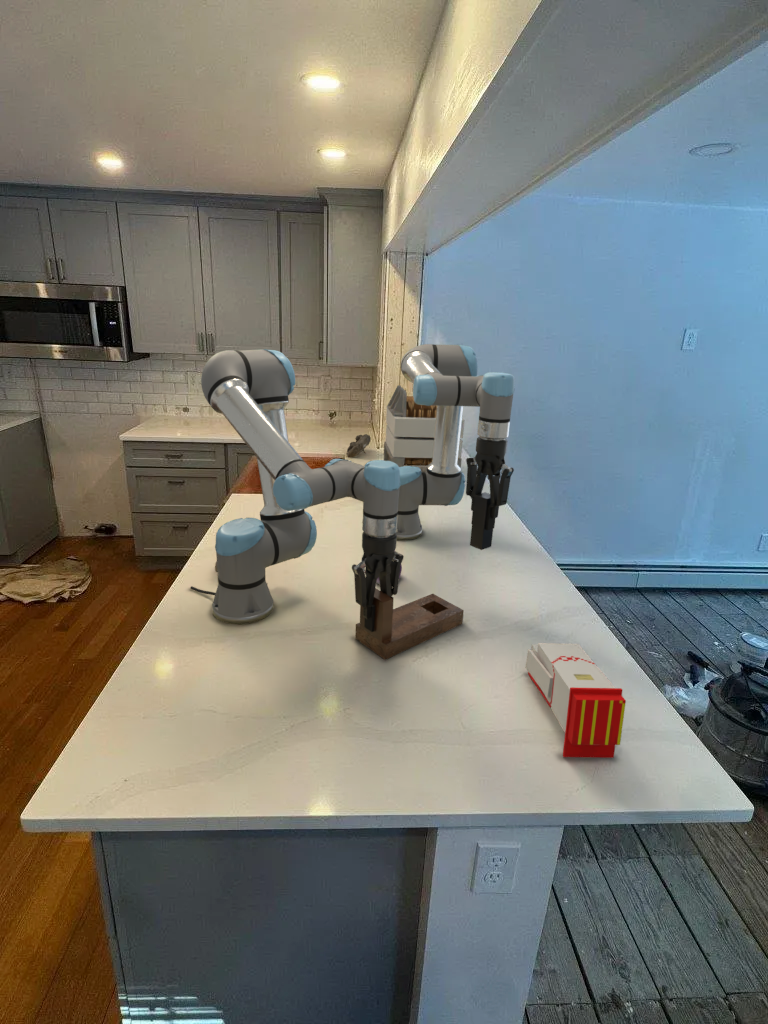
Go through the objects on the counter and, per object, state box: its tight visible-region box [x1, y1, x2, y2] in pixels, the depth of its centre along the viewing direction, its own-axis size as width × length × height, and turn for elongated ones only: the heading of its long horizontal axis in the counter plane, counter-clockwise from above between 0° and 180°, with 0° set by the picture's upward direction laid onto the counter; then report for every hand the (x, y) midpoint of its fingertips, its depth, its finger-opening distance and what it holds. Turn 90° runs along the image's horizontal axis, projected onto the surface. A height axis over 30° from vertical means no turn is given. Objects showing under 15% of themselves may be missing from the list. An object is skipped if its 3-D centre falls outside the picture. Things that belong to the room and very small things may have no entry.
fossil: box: [346, 433, 372, 458], centre depth 305 cm, size 22×10×15 cm
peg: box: [469, 491, 494, 551], centre depth 147 cm, size 4×4×14 cm
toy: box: [525, 642, 627, 759], centre depth 113 cm, size 12×13×30 cm
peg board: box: [354, 587, 465, 661], centre depth 138 cm, size 11×26×14 cm, turn 131°
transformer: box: [383, 384, 465, 469], centre depth 268 cm, size 34×33×41 cm
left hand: (375, 626), depth 131 cm, fingers closed on peg board, 3 cm apart
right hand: (482, 525), depth 147 cm, fingers closed on peg, 4 cm apart
